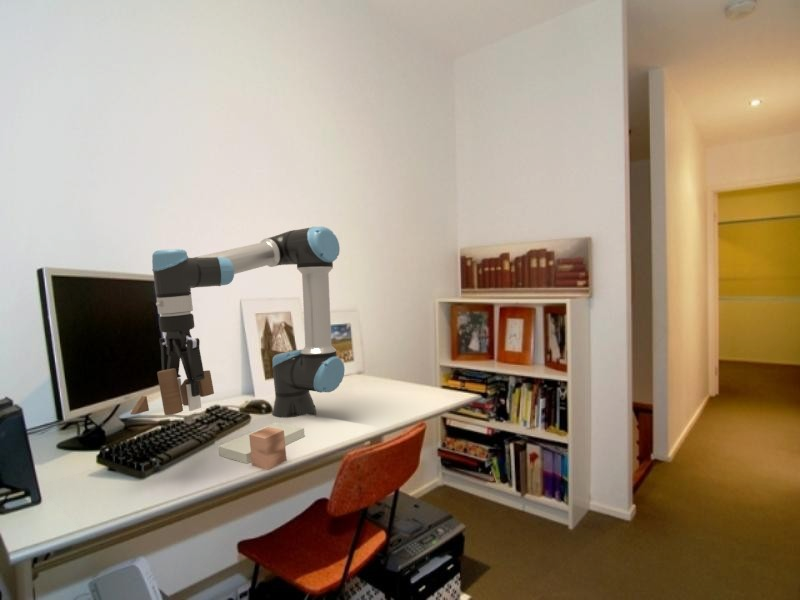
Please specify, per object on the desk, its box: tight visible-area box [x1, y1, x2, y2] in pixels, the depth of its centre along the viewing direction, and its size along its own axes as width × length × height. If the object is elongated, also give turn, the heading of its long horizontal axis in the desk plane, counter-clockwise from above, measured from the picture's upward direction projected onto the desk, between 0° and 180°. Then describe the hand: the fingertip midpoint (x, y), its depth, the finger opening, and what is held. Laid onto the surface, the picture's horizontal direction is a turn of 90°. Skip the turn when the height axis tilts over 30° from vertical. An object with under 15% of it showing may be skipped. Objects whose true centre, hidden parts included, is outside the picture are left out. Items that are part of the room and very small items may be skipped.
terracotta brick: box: [249, 427, 287, 471], centre depth 112 cm, size 6×6×8 cm
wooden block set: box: [130, 368, 215, 416], centre depth 106 cm, size 18×9×10 cm, turn 141°
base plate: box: [217, 421, 306, 464], centre depth 124 cm, size 20×12×2 cm, turn 146°
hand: (186, 406), depth 108 cm, fingers closed on wooden block set, 7 cm apart
